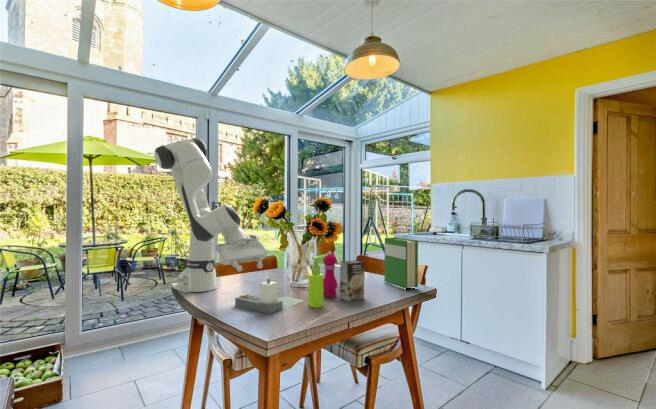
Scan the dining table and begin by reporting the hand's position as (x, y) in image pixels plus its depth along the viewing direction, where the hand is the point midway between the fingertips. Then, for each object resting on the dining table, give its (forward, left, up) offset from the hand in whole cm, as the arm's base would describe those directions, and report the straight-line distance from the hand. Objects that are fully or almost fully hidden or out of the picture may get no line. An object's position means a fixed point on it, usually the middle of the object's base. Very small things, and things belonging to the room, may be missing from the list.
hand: (250, 268), depth 128 cm
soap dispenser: (+22, +14, -15) cm, 30 cm away
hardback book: (+39, +67, -15) cm, 79 cm away
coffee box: (+28, +33, -15) cm, 46 cm away
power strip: (+5, -1, -15) cm, 16 cm away
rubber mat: (+9, +11, -15) cm, 21 cm away
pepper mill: (+17, +32, -15) cm, 39 cm away
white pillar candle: (+10, -1, -14) cm, 18 cm away
